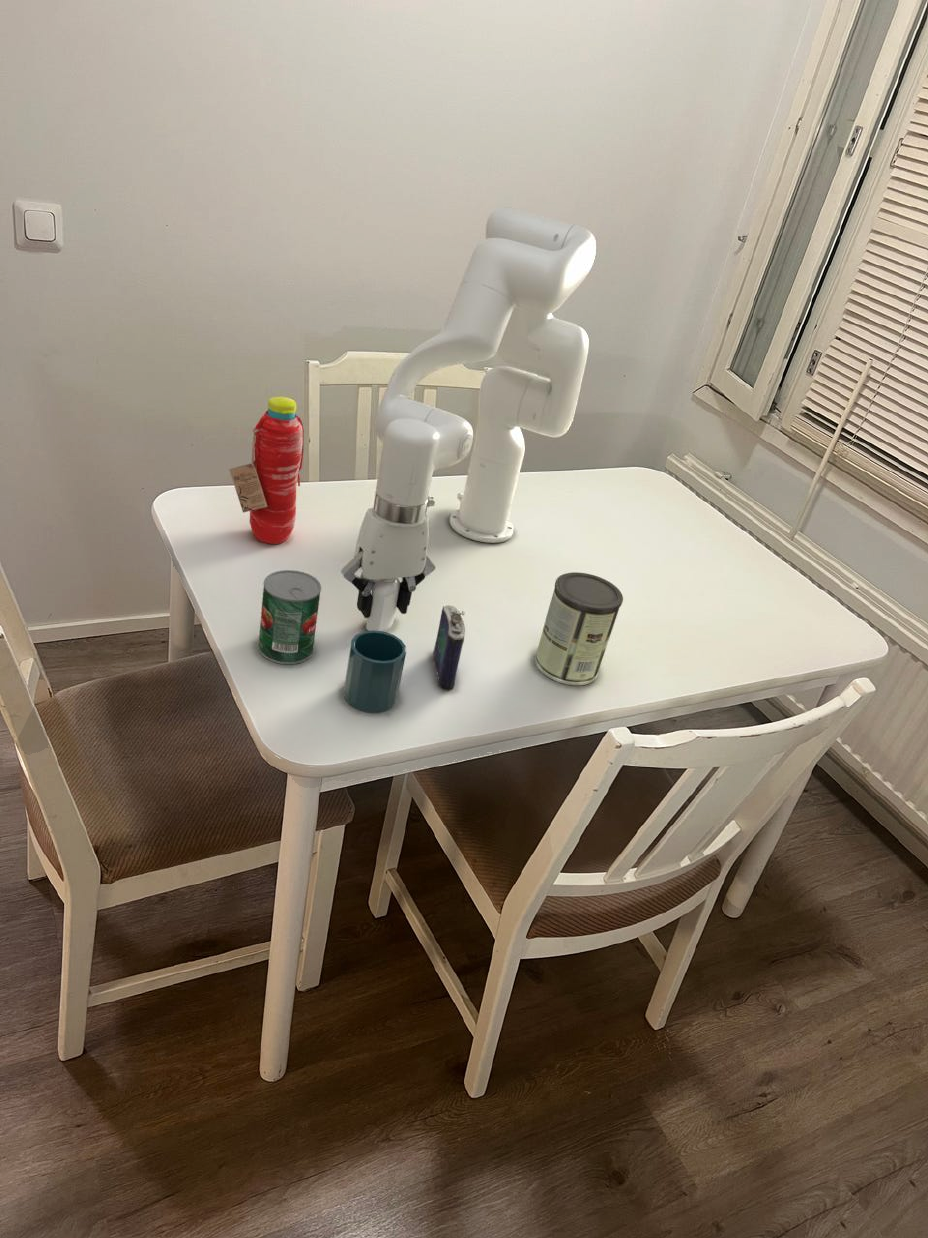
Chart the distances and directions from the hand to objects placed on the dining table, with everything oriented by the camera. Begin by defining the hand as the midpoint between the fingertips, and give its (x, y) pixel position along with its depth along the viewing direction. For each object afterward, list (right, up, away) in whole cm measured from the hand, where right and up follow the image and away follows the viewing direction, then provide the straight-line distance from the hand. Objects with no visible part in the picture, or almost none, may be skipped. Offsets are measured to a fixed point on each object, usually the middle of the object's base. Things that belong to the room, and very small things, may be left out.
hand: (382, 610), depth 137 cm
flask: (+10, -9, -5) cm, 14 cm away
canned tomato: (-13, -6, -8) cm, 17 cm away
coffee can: (+28, -9, +2) cm, 30 cm away
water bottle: (-22, +12, +17) cm, 31 cm away
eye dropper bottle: (-1, -3, +2) cm, 3 cm away
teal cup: (0, -12, -14) cm, 18 cm away
